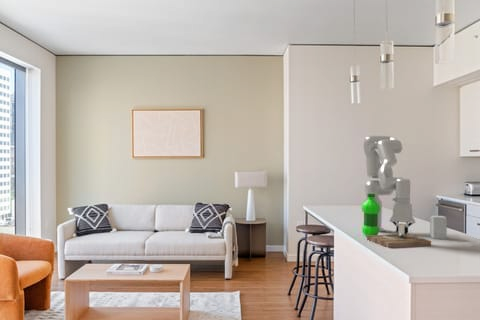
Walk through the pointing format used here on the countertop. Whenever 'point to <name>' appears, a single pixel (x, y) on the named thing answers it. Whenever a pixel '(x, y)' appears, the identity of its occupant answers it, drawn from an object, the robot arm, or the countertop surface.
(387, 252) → the countertop surface
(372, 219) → the plastic bottle
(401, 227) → the white piece
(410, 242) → the tuner board
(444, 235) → the supplement box
